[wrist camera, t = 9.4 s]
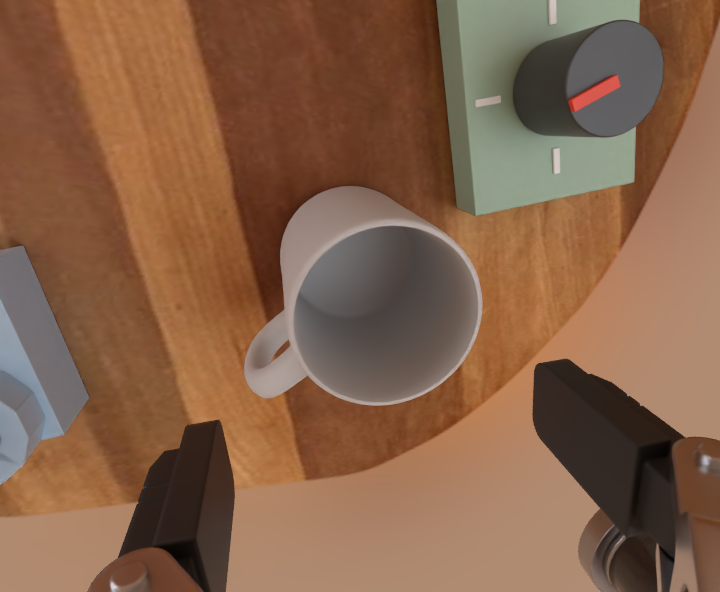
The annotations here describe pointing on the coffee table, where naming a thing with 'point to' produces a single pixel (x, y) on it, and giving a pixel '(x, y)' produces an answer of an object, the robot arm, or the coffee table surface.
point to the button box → (31, 366)
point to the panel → (497, 111)
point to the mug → (367, 302)
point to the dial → (590, 81)
